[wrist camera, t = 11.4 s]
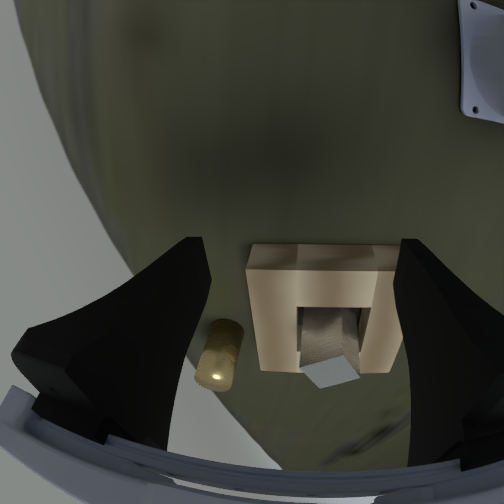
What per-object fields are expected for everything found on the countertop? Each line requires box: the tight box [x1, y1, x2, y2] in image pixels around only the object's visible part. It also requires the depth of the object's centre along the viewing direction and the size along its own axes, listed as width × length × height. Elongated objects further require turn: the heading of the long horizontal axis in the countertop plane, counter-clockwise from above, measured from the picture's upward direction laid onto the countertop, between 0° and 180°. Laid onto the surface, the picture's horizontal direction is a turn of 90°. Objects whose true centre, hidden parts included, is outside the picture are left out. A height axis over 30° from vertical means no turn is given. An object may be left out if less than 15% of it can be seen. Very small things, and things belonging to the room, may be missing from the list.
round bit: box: [194, 319, 244, 391], centre depth 27 cm, size 3×3×6 cm
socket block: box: [246, 244, 403, 373], centre depth 24 cm, size 12×12×3 cm
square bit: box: [299, 307, 360, 388], centre depth 23 cm, size 3×3×7 cm
